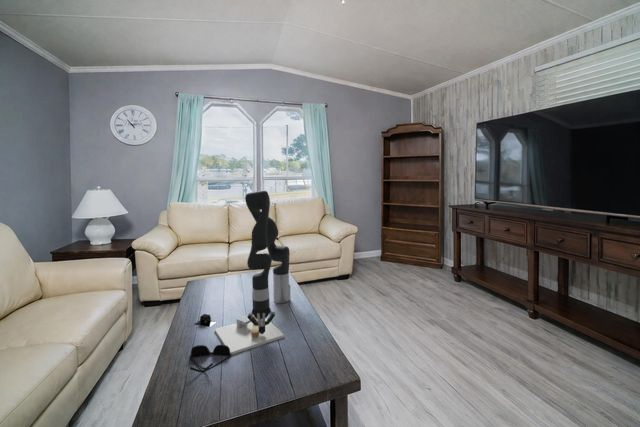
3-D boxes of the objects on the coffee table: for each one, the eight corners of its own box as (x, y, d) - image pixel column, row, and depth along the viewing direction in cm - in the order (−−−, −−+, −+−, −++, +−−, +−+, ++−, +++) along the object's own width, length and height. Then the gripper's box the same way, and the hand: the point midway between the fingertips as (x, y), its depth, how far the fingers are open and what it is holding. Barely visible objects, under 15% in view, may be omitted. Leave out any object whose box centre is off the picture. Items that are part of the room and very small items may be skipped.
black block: (220, 322, 153) (220, 314, 153) (211, 329, 146) (211, 320, 146) (199, 319, 157) (199, 311, 156) (190, 325, 150) (189, 317, 149)
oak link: (253, 318, 152) (253, 312, 152) (262, 318, 153) (262, 312, 153) (249, 337, 134) (249, 330, 134) (259, 336, 135) (259, 329, 135)
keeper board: (263, 317, 157) (263, 307, 157) (284, 337, 138) (284, 325, 137) (214, 331, 143) (214, 320, 143) (230, 355, 124) (230, 342, 123)
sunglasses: (176, 378, 110) (175, 366, 109) (191, 355, 124) (190, 344, 124) (223, 377, 111) (222, 364, 110) (232, 354, 125) (231, 343, 125)
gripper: (275, 293, 140) (276, 328, 142) (246, 294, 138) (248, 330, 140) (275, 299, 132) (276, 336, 134) (244, 301, 131) (246, 338, 133)
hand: (262, 333), depth 137 cm, fingers closed
